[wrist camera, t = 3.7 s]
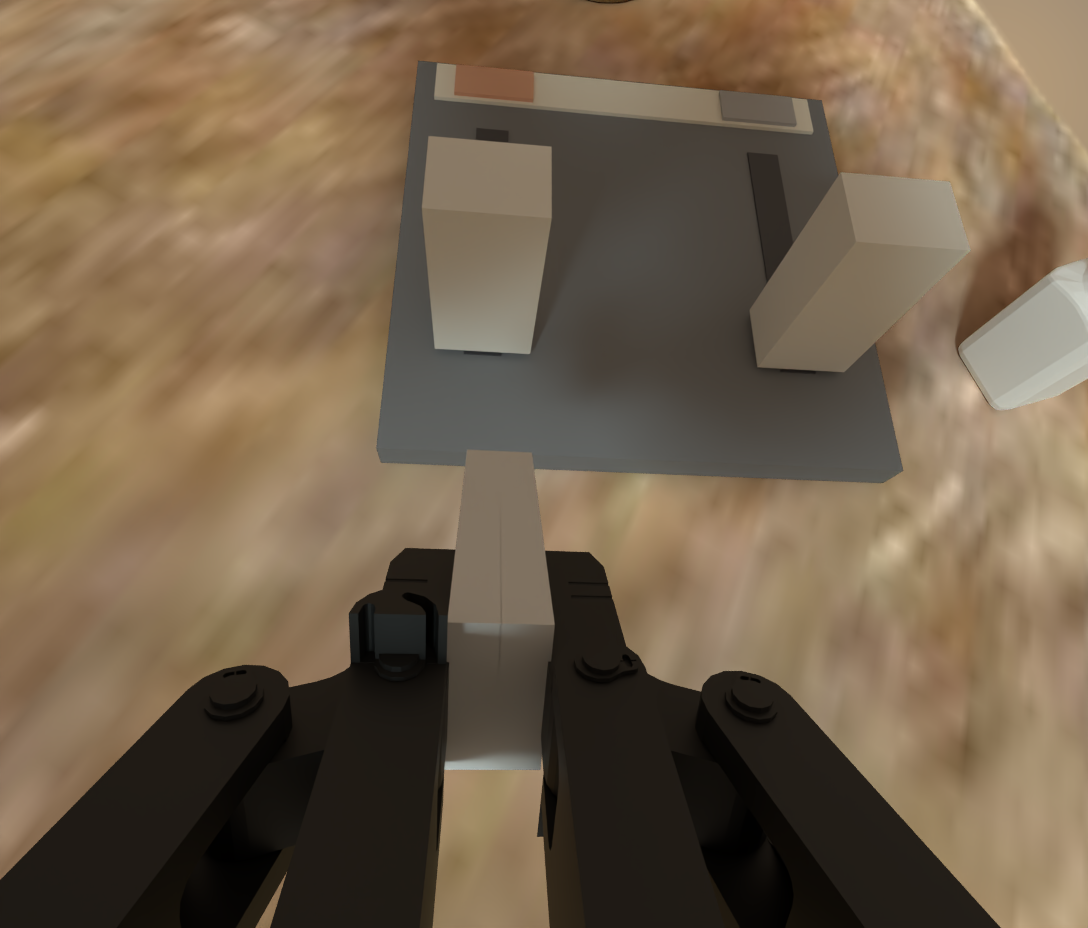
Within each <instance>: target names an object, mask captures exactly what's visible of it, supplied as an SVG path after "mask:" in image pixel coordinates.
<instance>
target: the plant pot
mask: <svg viewBox="0 0 1088 928" xmlns="http://www.w3.org/2000/svg"><path fill="white" fill-rule="evenodd" d="M590 1H595V2H606V3H615V2H624V1H629V0H590Z"/></svg>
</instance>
